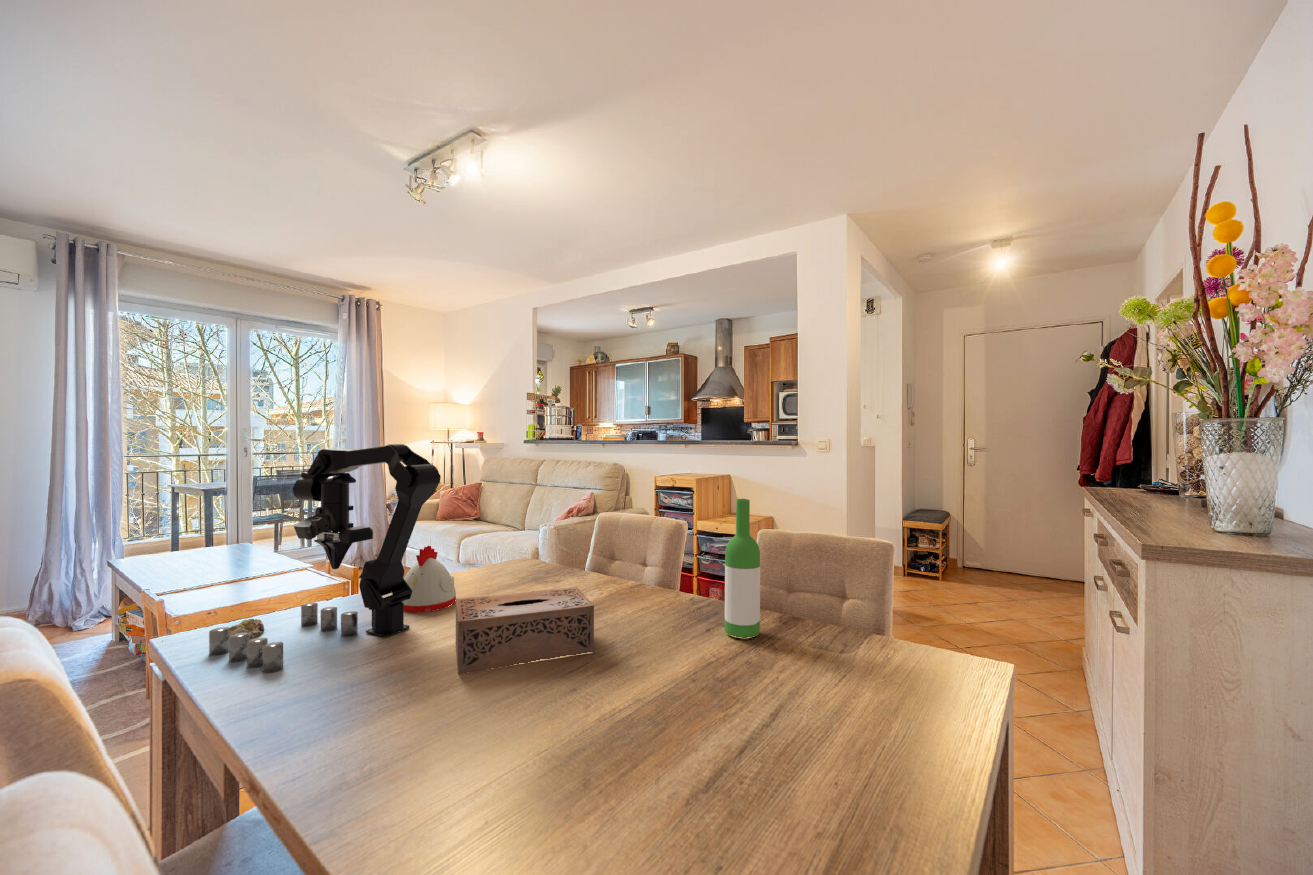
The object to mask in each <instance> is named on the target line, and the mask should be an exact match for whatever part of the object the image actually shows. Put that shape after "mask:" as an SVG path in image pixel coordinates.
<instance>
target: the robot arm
mask: <svg viewBox="0 0 1313 875" xmlns="http://www.w3.org/2000/svg"><path fill="white" fill-rule="evenodd" d="M378 464H387V466H388V472H389V475H390V476H391V477H392V478H393V480H395V481H396V483H395V492H396V496H397V503H396V506H395V508H394V512H393V514H392V517H391V520H390V523H389V525H388V529H387V531H386V534H385V537H384V540H383V543H382V545H381V547H380V551H379V554H378V556H377V558H375V559H371V560H367V561H365V563H364V564H363V566H362V572H361V574H360V575H359V577H358V579H360V580H359V591H360V595H361V598H362V599H361V600H362V603H363V606H364V608H365V609H368V610H370V611H371V628H368V629H365V633H366V634H370V635H374V636H378V637H383V638H387V637H390V636H392V635H394V634H397V633H400V632H402V631H405V630H408V629H410V625H408V624H404V623H405V621H404V618H405V617H404V616H405V614H404V613H405V611H404V603H402V601H404V600H408V599H410V598H411V595H412V589H411V588H410V587H409V585H408V584H407V583H406V581H405V580H404V578H405V576H404V575H405V568H404V565H403V558H404V556H405V553H406V550H407V548H408V544H409V542H410V539H411V537H412V534H413V531H414V528H415V525H416V523H417V521H418V518H419V515H420V512H421V509H422V507H423V505H424V504H425V503H426V502H427V501H428V500H429V499H430V498H431V497H432V496H433V495H434V494H435V492H436V490H437V488H438V486H439V485H440V482H441V479H442V478H441V476H442V475H441V474H440V472H439V470H438V468H437V466H435V465H434V464H432V463H431V462H429V460H427V459H426V458H425V457H423V456H421V455H419V454H418V453H416V452H414V451H413V450H412V449H411V448H410V447H409V446H408V445H406V444H403V443H392V444H389V443H388V444H387V445H383V446H376V447H368V448H362V449H361V448H360V449H356V448H354V449H353V448H322V449H320V450H319V451H317V455H316V456H315V458H313V462H312V463H311V465H310V467H309V469H308V470H307V471H305V472H301V473H300V477H299V478H297V480H296V481H295V482H294V485H293V487H292V493H293V496H294V497H295V498H296V499H297V500H299V501H308V502H311V501H312V502H320V506H319V507H316V509H314V510H315V513H314V515H312V516H309V517H306V518H305V519H303V520H300V521H299V522H297V523H295V524H293V528H294V531H295V533H296V536H297V539H299V540H301V539H306V540H307V541H309V540H313V541H314V543H317V544H318V545H320V546H321V547H323V549H324V551H325V555H326V557H327V559H328V561H329V564H330V568H331V569H332V570H339V568H340V566H341V565H342V562H343V560H344V559H345V557H346V554H347V553H348V550H350V548H351V546H352V545H353V544H355V543H359V542H364V541H368V540H373V539H374V529H373V528H372V527H370V526H364V525H363V526H361V525H358V526H354V522H350V511H354V505H350V484H355V483H357V480H356V479H355V478H354V477H353V476H352V475H351V474H350V472H352V471H355V470H357V469H359V468H360V467H362V466H370V465H378ZM315 538H316V539H315ZM403 577H404V578H403ZM390 594H391V595H390ZM386 595H388V596H386ZM383 596H385V597H383Z"/></svg>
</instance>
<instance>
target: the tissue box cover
mask: <svg viewBox="0 0 1313 875" xmlns="http://www.w3.org/2000/svg"><path fill="white" fill-rule="evenodd" d="M594 642H595V605H594V604H593V603H592V602H591V601H590V599H589V598H588V597H587V596H586V595H585V594H584V593H583V592H582V591H581V589H580V588H579V587H578V586H570V587H562V588H553V589H543V590H533V591H524V592H523V591H522V592H513V593H504V594H503V593H502V594H493V595H485V596H475V597H467V598H466V597H465V598H456V601H455V654H456V666H457V674H458V675H463V674H462V673H464V674H468V673H467V672H470V673H475V672H482V671H481V670H484V671H487V670H486V669H490V670H492V669H491V668H497V669H500V668H499V667H503V668H506V667H505V666H510V665H514V664H519V663H528V662H531V661H536V660H540V659H550V658H555V657H560V656H566V655H576V654H581V653H587V652H593V651H594V652H595V648H594V647H595V643H594ZM510 667H511V666H510Z"/></svg>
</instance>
